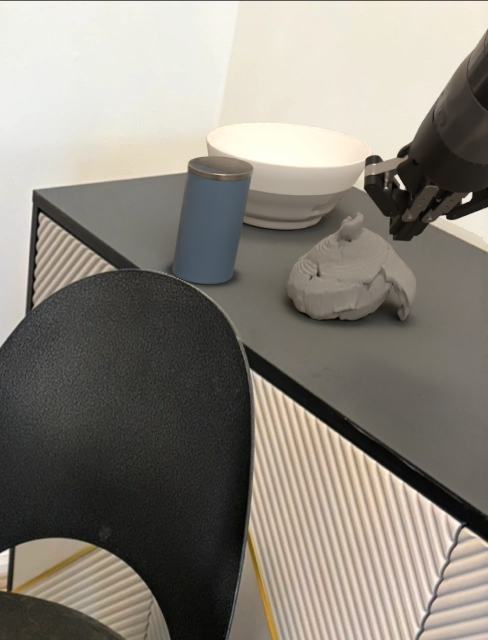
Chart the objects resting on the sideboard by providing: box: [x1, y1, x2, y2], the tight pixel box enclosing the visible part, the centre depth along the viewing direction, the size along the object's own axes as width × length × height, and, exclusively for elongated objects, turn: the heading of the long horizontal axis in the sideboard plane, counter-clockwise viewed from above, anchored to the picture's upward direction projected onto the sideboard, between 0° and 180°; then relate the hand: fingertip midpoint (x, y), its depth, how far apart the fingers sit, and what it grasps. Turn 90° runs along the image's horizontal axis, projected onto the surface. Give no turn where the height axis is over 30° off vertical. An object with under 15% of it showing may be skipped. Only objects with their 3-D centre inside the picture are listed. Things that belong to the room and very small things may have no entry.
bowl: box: [205, 122, 374, 231], centre depth 135 cm, size 19×19×8 cm
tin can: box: [171, 155, 254, 285], centre depth 118 cm, size 7×7×11 cm
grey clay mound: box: [285, 211, 417, 322], centre depth 112 cm, size 12×12×11 cm
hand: (400, 230), depth 99 cm, fingers closed
